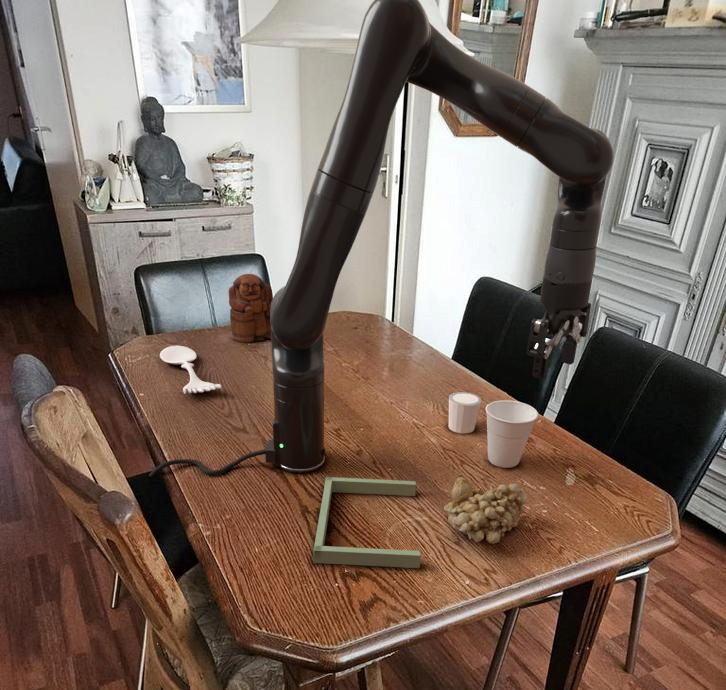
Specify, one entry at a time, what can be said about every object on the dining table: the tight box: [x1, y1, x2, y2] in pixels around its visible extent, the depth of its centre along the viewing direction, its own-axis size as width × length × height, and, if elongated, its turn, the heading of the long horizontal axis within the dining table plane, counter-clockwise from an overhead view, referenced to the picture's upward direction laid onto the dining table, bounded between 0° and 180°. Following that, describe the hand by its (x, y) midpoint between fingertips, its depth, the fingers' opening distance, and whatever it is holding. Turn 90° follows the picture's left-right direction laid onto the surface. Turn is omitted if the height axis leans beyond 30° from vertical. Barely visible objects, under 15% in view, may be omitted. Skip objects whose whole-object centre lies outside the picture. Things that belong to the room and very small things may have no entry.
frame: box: [313, 476, 422, 569], centre depth 104 cm, size 16×21×2 cm
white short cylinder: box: [448, 391, 482, 435], centre depth 135 cm, size 7×7×7 cm
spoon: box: [159, 345, 222, 395], centre depth 155 cm, size 9×32×4 cm, turn 26°
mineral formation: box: [443, 476, 528, 545], centre depth 103 cm, size 8×13×15 cm
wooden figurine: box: [228, 273, 274, 343], centre depth 176 cm, size 12×6×18 cm, turn 115°
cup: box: [485, 399, 539, 469], centre depth 122 cm, size 10×10×11 cm
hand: (553, 370), depth 108 cm, fingers open, 8 cm apart
